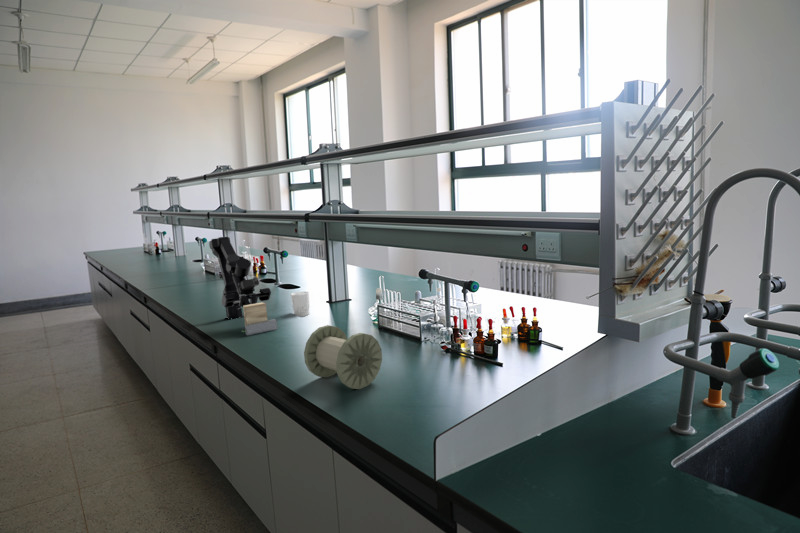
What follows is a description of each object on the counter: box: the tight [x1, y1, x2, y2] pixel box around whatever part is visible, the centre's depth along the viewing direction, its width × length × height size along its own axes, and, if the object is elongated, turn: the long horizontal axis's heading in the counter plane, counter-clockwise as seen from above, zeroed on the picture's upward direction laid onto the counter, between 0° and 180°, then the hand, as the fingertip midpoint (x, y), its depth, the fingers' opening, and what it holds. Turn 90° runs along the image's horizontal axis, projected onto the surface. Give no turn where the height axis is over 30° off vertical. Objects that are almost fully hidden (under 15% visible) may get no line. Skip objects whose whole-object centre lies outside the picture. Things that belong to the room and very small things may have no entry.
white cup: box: [290, 291, 310, 318], centre depth 234 cm, size 8×8×10 cm
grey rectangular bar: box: [244, 318, 278, 336], centre depth 205 cm, size 2×12×4 cm, turn 123°
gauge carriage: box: [241, 301, 268, 332], centre depth 209 cm, size 4×10×10 cm, turn 123°
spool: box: [303, 324, 383, 390], centre depth 148 cm, size 16×15×15 cm
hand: (253, 313), depth 211 cm, fingers closed
